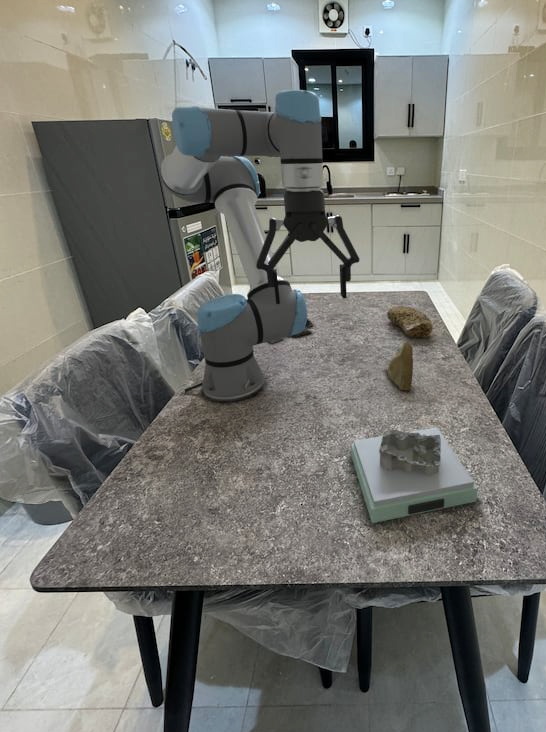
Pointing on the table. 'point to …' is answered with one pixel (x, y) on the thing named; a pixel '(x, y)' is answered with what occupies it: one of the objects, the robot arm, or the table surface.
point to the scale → (410, 482)
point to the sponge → (410, 321)
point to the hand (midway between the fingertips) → (311, 299)
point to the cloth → (305, 331)
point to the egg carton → (410, 452)
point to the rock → (402, 367)
